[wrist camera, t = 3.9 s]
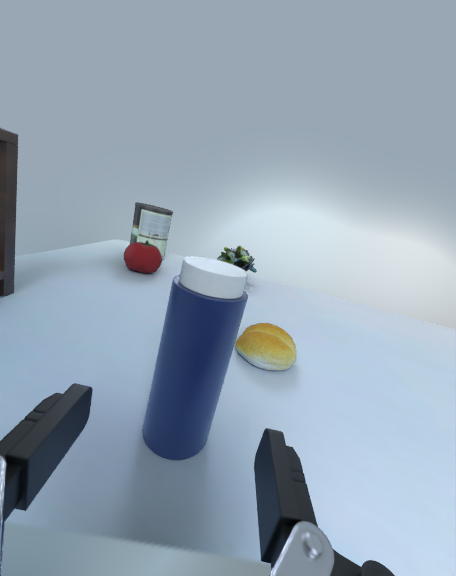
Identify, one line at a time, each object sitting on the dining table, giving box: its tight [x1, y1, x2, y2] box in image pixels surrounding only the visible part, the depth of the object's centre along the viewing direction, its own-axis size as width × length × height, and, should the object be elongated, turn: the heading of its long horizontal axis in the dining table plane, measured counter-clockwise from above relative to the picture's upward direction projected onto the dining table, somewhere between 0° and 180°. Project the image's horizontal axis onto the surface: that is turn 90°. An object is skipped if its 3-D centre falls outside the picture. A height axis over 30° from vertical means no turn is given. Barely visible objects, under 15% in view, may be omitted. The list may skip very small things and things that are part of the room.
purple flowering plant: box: [217, 246, 256, 272], centre depth 76 cm, size 11×11×12 cm
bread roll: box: [236, 323, 296, 371], centre depth 36 cm, size 8×9×4 cm
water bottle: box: [143, 256, 248, 460], centre depth 19 cm, size 5×5×14 cm
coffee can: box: [130, 203, 173, 259], centre depth 75 cm, size 10×10×14 cm
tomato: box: [124, 240, 162, 274], centre depth 59 cm, size 8×8×7 cm
